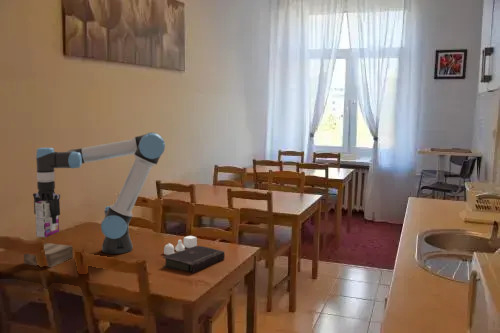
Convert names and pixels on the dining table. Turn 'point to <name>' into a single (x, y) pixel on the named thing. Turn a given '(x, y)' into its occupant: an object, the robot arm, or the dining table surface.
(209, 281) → the dining table surface
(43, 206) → the candy bar box
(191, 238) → the container set
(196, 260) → the diary
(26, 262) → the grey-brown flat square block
